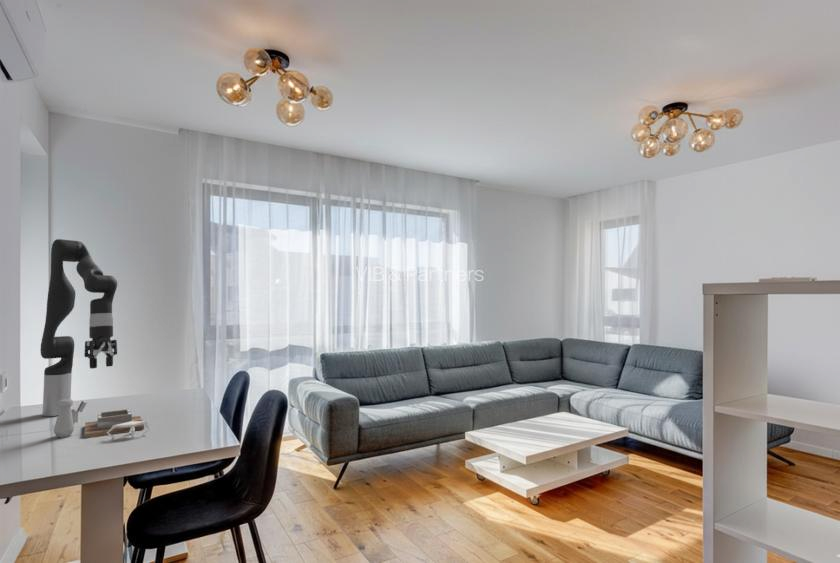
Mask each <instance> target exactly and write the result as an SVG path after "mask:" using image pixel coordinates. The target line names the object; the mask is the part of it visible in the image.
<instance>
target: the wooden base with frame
mask: <svg viewBox="0 0 840 563" xmlns="http://www.w3.org/2000/svg"><path fill="white" fill-rule="evenodd" d="M130 421H143V419H142V418H141V416H140V415H137V416H135V415H134V416H133V413H132V412H131V409H130V408H126V409H118V410H111V411H110V410H108V411H102V412H101V411H100V412H97V420H95V421H88V422H85V423H84V439H87V438H94V437H95V438H96V437H100V436H106V435H108V436H110V435H109V434H111V435H113V434H121V433H122V434H123V433H129V431H130V428H131V426H130V427H116V428H114V429H113V430H111V431H110V432H109V434H107V432H108V431H109V430H110V429H111V428H112V426H113V425H117V424H122V423H126V422H130ZM134 427H135V430H137V431H143V430H142V429H144V430H145V425H144V424H141V425H137V426H134Z"/></svg>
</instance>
